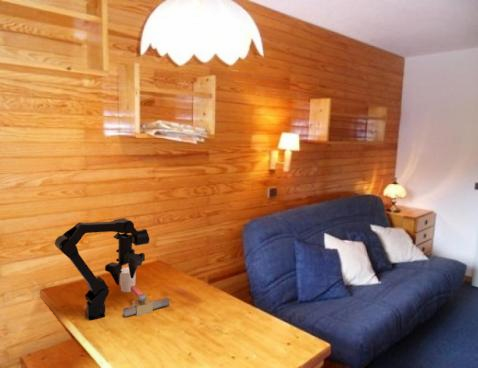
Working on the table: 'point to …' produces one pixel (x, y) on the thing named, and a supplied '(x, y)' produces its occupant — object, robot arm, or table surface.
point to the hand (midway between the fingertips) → (125, 281)
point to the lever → (138, 293)
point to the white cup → (126, 280)
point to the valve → (145, 306)
